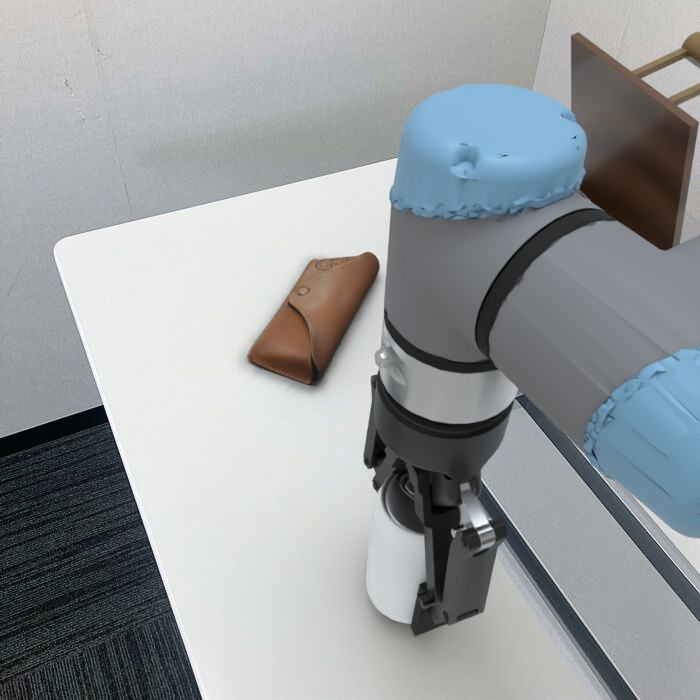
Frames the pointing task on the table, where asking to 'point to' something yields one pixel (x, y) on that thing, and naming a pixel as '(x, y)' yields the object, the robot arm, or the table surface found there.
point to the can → (395, 550)
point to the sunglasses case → (315, 317)
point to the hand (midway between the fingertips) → (408, 581)
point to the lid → (635, 140)
